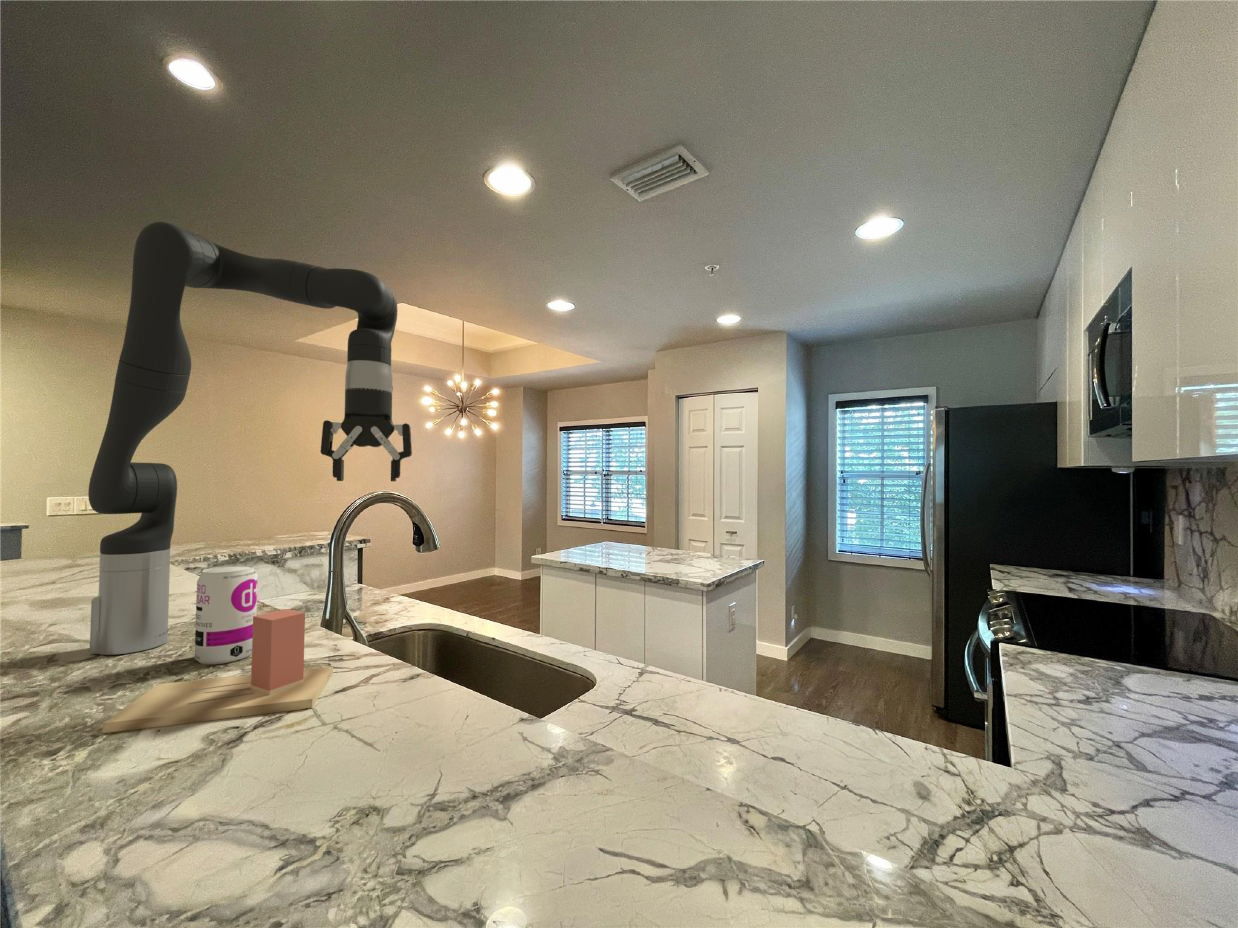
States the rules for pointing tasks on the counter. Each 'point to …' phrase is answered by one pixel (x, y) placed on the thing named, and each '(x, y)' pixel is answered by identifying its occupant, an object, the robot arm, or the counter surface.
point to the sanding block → (277, 651)
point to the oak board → (214, 701)
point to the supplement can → (225, 614)
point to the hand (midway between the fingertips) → (367, 481)
